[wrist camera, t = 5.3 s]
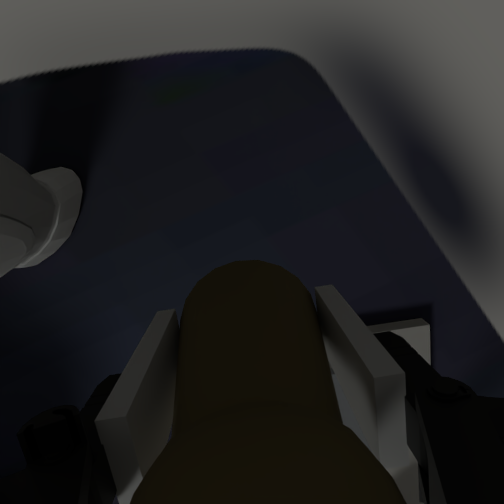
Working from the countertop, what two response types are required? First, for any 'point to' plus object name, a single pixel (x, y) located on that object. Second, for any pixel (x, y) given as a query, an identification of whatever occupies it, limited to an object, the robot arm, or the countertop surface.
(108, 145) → the countertop surface
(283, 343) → the cork
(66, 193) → the soap bottle
